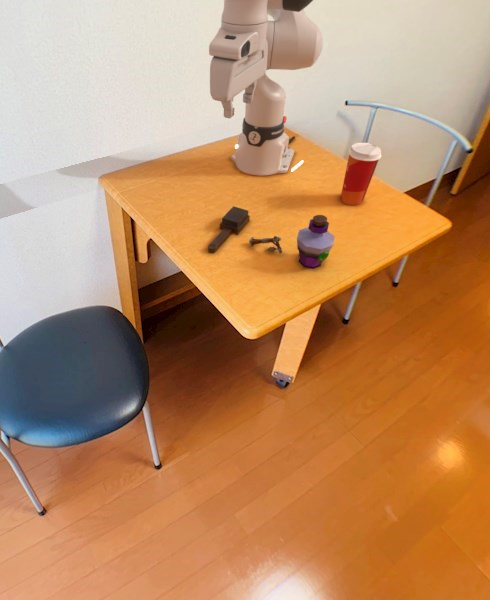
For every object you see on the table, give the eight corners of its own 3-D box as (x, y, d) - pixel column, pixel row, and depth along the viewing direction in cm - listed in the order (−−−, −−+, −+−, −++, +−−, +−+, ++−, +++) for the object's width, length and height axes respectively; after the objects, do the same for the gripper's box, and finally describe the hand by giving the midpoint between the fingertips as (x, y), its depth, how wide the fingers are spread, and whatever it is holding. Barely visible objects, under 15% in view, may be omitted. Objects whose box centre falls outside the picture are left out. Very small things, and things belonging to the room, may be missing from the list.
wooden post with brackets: (283, 254, 102) (278, 237, 100) (254, 255, 107) (248, 240, 105) (286, 250, 103) (281, 233, 101) (257, 251, 108) (251, 236, 106)
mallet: (231, 216, 115) (232, 205, 113) (249, 221, 114) (250, 210, 111) (200, 249, 105) (200, 238, 103) (219, 256, 103) (220, 244, 101)
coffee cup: (349, 189, 125) (363, 138, 115) (373, 201, 120) (389, 150, 110) (329, 198, 122) (342, 146, 111) (353, 211, 117) (368, 158, 106)
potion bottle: (317, 278, 97) (328, 234, 89) (284, 262, 101) (292, 219, 93) (335, 259, 102) (347, 216, 93) (303, 245, 106) (312, 203, 98)
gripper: (250, 23, 92) (245, 91, 101) (204, 47, 79) (203, 122, 89) (278, 27, 89) (270, 96, 99) (235, 52, 77) (230, 129, 87)
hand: (238, 109), depth 94 cm, fingers open, 8 cm apart
